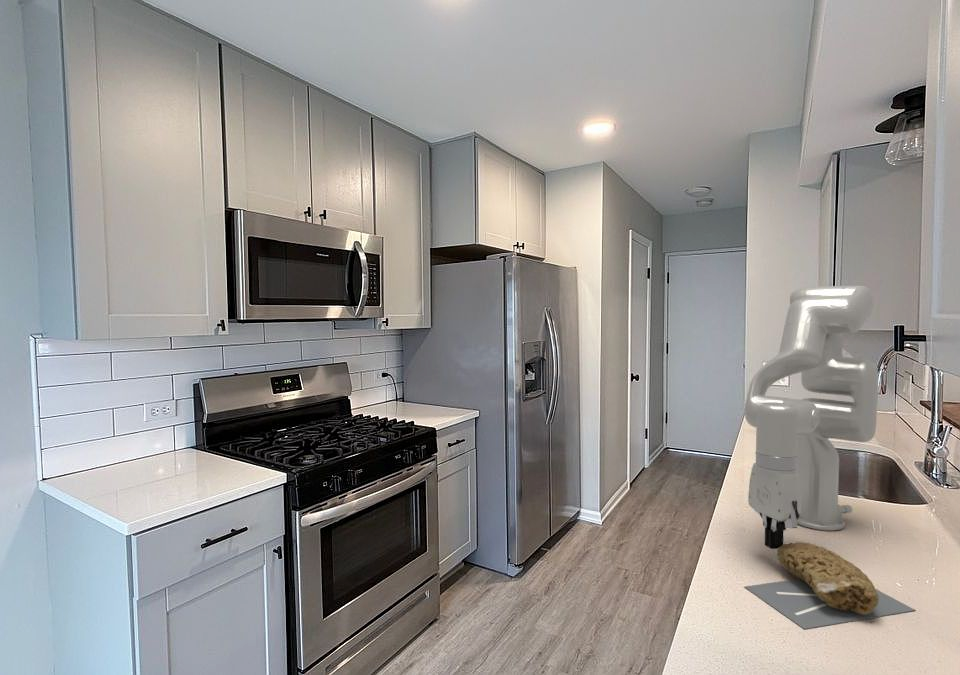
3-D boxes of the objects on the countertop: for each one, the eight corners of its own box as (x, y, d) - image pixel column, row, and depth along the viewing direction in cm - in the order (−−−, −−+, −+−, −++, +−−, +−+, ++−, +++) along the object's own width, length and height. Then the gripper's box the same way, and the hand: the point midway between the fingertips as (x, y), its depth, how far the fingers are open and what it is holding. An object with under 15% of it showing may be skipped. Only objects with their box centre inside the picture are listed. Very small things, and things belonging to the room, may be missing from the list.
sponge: (889, 626, 89) (844, 555, 108) (883, 586, 88) (839, 521, 107) (803, 627, 94) (774, 558, 112) (796, 589, 92) (768, 525, 111)
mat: (844, 573, 107) (844, 572, 107) (915, 610, 93) (915, 609, 93) (744, 587, 101) (744, 586, 101) (804, 629, 88) (804, 628, 88)
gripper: (735, 453, 116) (734, 534, 117) (788, 473, 102) (786, 565, 102) (764, 451, 118) (762, 531, 119) (821, 470, 103) (818, 561, 104)
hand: (773, 546), depth 110 cm, fingers closed
